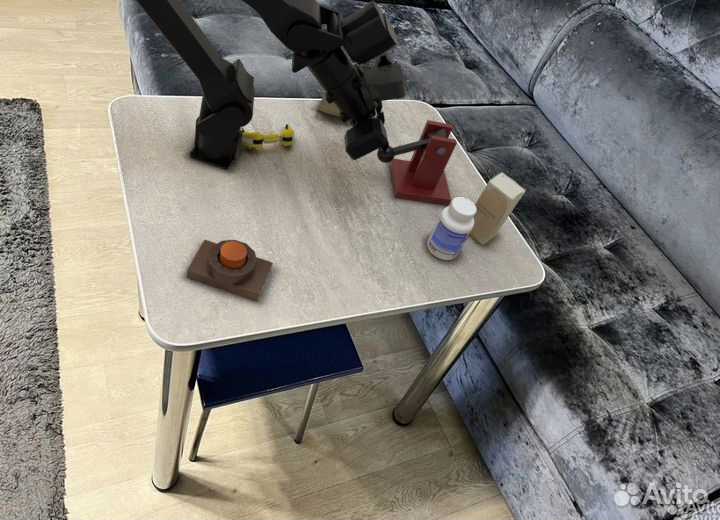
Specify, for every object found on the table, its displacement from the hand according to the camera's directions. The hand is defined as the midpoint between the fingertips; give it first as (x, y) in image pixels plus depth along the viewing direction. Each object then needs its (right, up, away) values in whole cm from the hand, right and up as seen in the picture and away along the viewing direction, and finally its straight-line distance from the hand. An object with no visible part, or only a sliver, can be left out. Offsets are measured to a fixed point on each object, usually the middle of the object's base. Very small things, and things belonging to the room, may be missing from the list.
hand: (386, 146), depth 98 cm
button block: (-22, -21, -17) cm, 35 cm away
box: (+16, -14, +3) cm, 22 cm away
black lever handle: (+5, -1, +2) cm, 5 cm away
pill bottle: (+9, -17, -2) cm, 19 cm away
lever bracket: (+6, -5, +7) cm, 11 cm away
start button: (-22, -19, -19) cm, 35 cm away
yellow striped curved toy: (-21, +1, +3) cm, 21 cm away
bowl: (-4, +10, +12) cm, 16 cm away
